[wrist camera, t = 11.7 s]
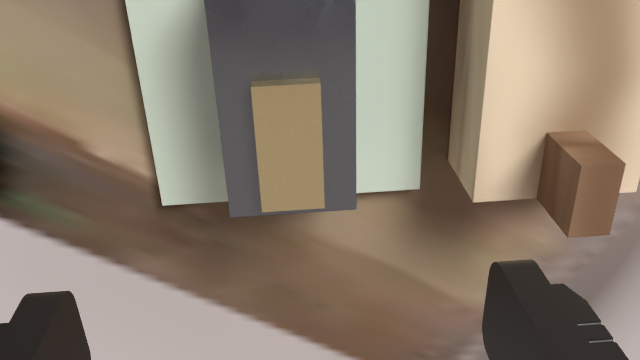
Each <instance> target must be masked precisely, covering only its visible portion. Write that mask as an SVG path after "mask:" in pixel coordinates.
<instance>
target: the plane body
mask: <svg viewBox="0 0 640 360" xmlns="http://www.w3.org/2000/svg"><path fill="white" fill-rule="evenodd" d="M448 161H449V163H450V165H451V166H452V168H453V170H454V171H455V173H456V175H457V176H458V178H459V180H460V181H461V183H462V185H463V186H464V188H465V190H466V192H467V193H468V195H469V197H470V198H471V200H472V202H473V203H474V202H489V201H504V200H519V199H534V198H537V200H538V201H539V202H540V203H541V205H542V206H543V207H544V208H545V210H546V211H547V212H548V213H549V215H550V216H551V217H552V219H553V220H554V221H555V222H556V224H557V225H558V226H559V227H560V229H561V230H562V231H563V232H564V234H565V235H566V236H567V237H568V238H572V237H587V236H601V235H609V234H610V230H611V226H612V221H613V217H614V213H615V209H616V204H617V200H618V196H619V193H626V192H636V190H637V186H638V182H639V178H640V0H460V8H459V22H458V35H457V48H456V61H455V75H454V88H453V101H452V114H451V128H450V141H449V154H448Z"/></svg>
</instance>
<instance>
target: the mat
mask: <svg viewBox="0 0 640 360" xmlns="http://www.w3.org/2000/svg"><path fill="white" fill-rule="evenodd" d="M125 2H126V8H127V13H128V19H129V24H130V30H131V35H132V41H133V46H134V52H135V57H136V63H137V68H138V74H139V79H140V85H141V90H142V96H143V101H144V107H145V112H146V118H147V123H148V129H149V134H150V140H151V145H152V151H153V156H154V162H155V168H156V173H157V179H158V184H159V190H160V195H161V201H162V206H165V205H180V204H196V203H211V202H227V201H228V196H227V188H226V179H225V171H224V163H223V155H222V146H221V138H220V130H219V121H218V113H217V105H216V96H215V88H214V80H213V71H212V63H211V55H210V46H209V38H208V30H207V21H206V13H205V5H204V0H125ZM428 17H429V0H356V193H366V192H382V191H397V190H413V189H420V172H421V153H422V133H423V114H424V95H425V75H426V56H427V37H428Z"/></svg>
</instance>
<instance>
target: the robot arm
mask: <svg viewBox="0 0 640 360" xmlns="http://www.w3.org/2000/svg"><path fill="white" fill-rule="evenodd" d="M482 333H483V341H484V345H485V349H486V352H487V355H488V357H489V360H629V359H628V358H627V357H626V356H625V354H624V352H623V351H622V350H621V348H620V347H619V346H618V344H617V343H616V342H613V337H612V336H611V335H610V333H609V332H608V330H607V329H606V328H605V326H604V325H601V320H600V319H599V318H598V316H597V315H596V314H595V312H594V311H593V309H592V308H591V307H590V305H589V304H588V302H587V301H586V300H585V299H583V298H582V297H581V296H579V295H578V294H576V293H575V292H574V291H572V290H571V289H569V288H568V287H567V286H565V285H564V284H550V283H549V281H548V280H547V278H546V277H545V275H544V274H543V272H542V271H541V269H540V268H539V266H538V265H537V263H536V262H535V261H534V260H516V261H502V262H494V263H492V265H491V267H490V271H489V277H488V285H487V292H486V299H485V306H484V314H483V322H482ZM0 360H91V356H90V350H89V346H88V343H87V339H86V336H85V332H84V329H83V325H82V322H81V318H80V315H79V311H78V308H77V304H76V301H75V298H74V296H73V294H72V293H71V292H70V291H60V292H45V293H32V294H27V295H25V296H24V297H23V299H22V300H21V302H20V304H19V306H18V307H17V309H16V311H15V313H14V315H13V317H12V319H11V320H10V322H9V323H1V324H0Z"/></svg>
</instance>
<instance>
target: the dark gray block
mask: <svg viewBox="0 0 640 360" xmlns="http://www.w3.org/2000/svg"><path fill="white" fill-rule="evenodd" d="M204 5H205V13H206V21H207V30H208V38H209V46H210V55H211V63H212V71H213V80H214V88H215V96H216V105H217V113H218V121H219V130H220V138H221V146H222V155H223V163H224V171H225V179H226V188H227V196H228V204H229V213H230V218H231V217H246V216H262V215H277V214H293V213H308V212H323V211H339V210H354V209H356V0H204Z"/></svg>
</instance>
